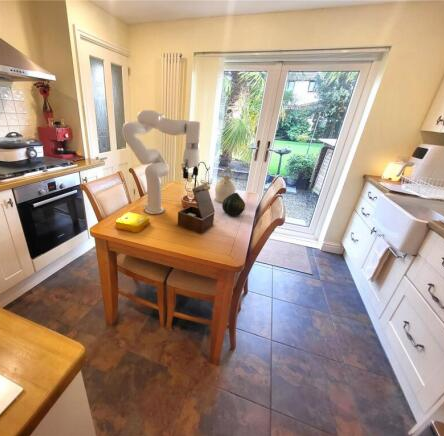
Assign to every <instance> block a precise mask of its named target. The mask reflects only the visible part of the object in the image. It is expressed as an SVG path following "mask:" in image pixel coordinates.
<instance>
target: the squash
mask: <svg viewBox="0 0 444 436" xmlns="http://www.w3.org/2000/svg"><path fill="white" fill-rule="evenodd" d="M221 207H222V211H223V212H224V213H225V214H228V215H231V216H232V217H236V216H240V215H242V214H243V213H244V211H245V209H246V203H245V200H244V199H243V198H242V196H241V195H240V194H239V193H238V192H235V193H233V194H231V195H229V196H228V197H226V198H225V199H224V201H223V203H222V204H221Z"/></svg>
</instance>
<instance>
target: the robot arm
mask: <svg viewBox="0 0 444 436" xmlns="http://www.w3.org/2000/svg"><path fill="white" fill-rule="evenodd" d="M136 118H137V120H131V121H127V122H124V123H123V125H122V127H121V136H122V138H123V140H124V142H125V143H126V144H127V146H128V147H129V148H130V149H131V150H132V153H133V154H134V156H135V157H136V159H137V160H138V162H139V163H140V164H141V165H143V166H146V167H145V169H144V175H145V180H146V200H147V201H146V202H142V207H143V208H144V211H145V213H146V214H150V215H160V214H162V213H164V211H165V208H164V207H163V206H162V205H163V204H162V203H163V202H162V201H163V199H162V195H163V193H162V191H163V187H162V182H161V180H160V178H163V177H165V176H167V175H168V174H169V173H170V167H169V164H168V163H167V161H166V160H165V158H164V156H163V155H162V153H161V152H160V151H159V150H158V149H157V148H155V147H150V148H149V147H147V146H146V145H145V143H144V142H143V141H142V140H141V138H139V136H145V135H148V133H149V132H151V131H152V130H153V129H155V130H158V131H159V132H161V133H163V134H165V135H166V134H167V135H170V136H175V137H176V136H184V135H185V144H184V145H185V146H184V147H185V148H184V151H183V157H182V163H181V170H182V178H183V179H186V180H189V170H190V169H191V168H192V175H193V176H196V177H198V175H199V169H200V165H201V162H202V161H201V159H200V141H201V130H202V129H201V128H202V123H201V122H200V121H196V120H195V121H194V120H186V119H170V118H166V117H165V115H164V114H163V113H159V112H158V111H156V110H153V109H143V110H140V111H139V112H138V113H137V117H136Z"/></svg>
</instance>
